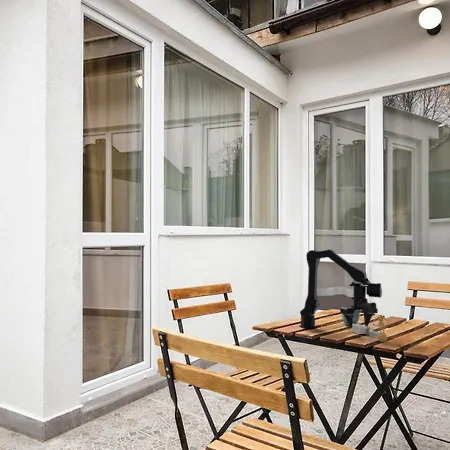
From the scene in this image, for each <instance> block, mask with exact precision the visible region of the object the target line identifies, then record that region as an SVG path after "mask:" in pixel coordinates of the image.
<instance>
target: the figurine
mask: <svg viewBox="0 0 450 450" xmlns="http://www.w3.org/2000/svg"><path fill="white" fill-rule="evenodd" d="M376 320H378V323H377V324H378V327H379V333H380V334H379V336H378V337H377V339H378V341H379V342H380V343H386V342H387V341H388V335H387V334H386V332H385V329H386V326H385V322H384V320H385V321H386V322H387V323H388V324H389V327H390V326H391V323H390V321H389V320H388V319H387V318H385V317H384V316H383V314H380V315H378V316H377V317H375V318H374V319H373V321H372V322H373V323H372V326H375V322H376ZM381 330H382V331H381Z"/></svg>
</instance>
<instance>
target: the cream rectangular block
mask: <svg viewBox="0 0 450 450" xmlns="http://www.w3.org/2000/svg"><path fill="white" fill-rule="evenodd" d="M365 328H368V327H367V326H365V325H362V324H359V323H357V324H353V325H352V328H351V331H350V333H352V332H354V333H353V334H355V333H358V334H357V335H359V334H366V329H365Z"/></svg>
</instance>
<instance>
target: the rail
mask: <svg viewBox="0 0 450 450" xmlns="http://www.w3.org/2000/svg"><path fill="white" fill-rule="evenodd" d="M349 328H350V327H349ZM365 329H366V335H365V336H366V337H369V336H370V335H371V336H374V337H377V338H378V336H379V334H380V331H376V330H372V329H371V328H370V327H367V328H365ZM350 332H351V328H350Z"/></svg>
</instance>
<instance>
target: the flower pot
mask: <svg viewBox="0 0 450 450" xmlns="http://www.w3.org/2000/svg"><path fill="white" fill-rule="evenodd" d="M349 307H350V306H349ZM350 308H351V307H350ZM360 314H361V312H354V313H353V315H354V317H353V324H358V322H359V319H360ZM341 319H342V321H343V323H344V325H345V326H349V324H348V322H347V320H346V318H345V316H344V315H343V314H342V313H341Z"/></svg>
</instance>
